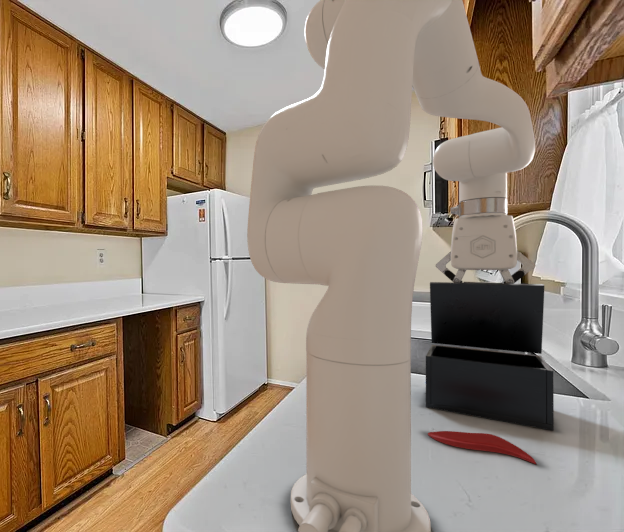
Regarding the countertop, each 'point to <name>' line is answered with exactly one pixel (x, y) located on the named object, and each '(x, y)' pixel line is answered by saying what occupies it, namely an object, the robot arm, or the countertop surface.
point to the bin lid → (488, 315)
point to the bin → (491, 385)
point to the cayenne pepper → (480, 443)
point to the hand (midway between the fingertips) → (482, 304)
